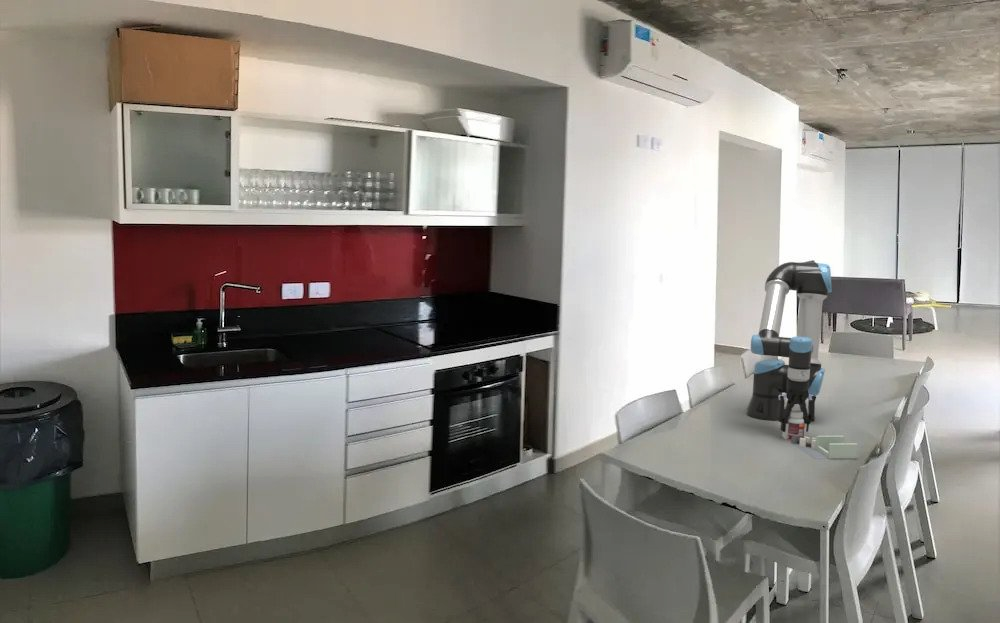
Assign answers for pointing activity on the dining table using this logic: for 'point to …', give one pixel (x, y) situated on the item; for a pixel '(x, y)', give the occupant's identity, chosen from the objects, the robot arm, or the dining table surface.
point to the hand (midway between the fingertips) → (793, 439)
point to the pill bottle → (795, 423)
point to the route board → (808, 446)
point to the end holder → (836, 447)
